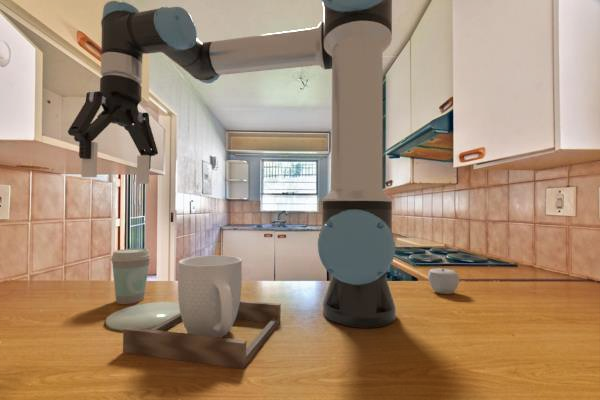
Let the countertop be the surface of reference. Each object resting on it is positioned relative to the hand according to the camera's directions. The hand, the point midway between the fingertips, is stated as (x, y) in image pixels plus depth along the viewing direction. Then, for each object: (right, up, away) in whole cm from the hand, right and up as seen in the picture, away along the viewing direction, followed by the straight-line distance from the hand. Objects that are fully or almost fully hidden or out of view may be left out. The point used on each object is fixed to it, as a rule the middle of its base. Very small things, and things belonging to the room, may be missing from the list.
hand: (118, 180), depth 62 cm
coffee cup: (-3, -29, +9) cm, 30 cm away
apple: (+77, -30, +19) cm, 85 cm away
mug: (+22, -28, -10) cm, 37 cm away
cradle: (+22, -28, -10) cm, 37 cm away
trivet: (+7, -28, -1) cm, 29 cm away
